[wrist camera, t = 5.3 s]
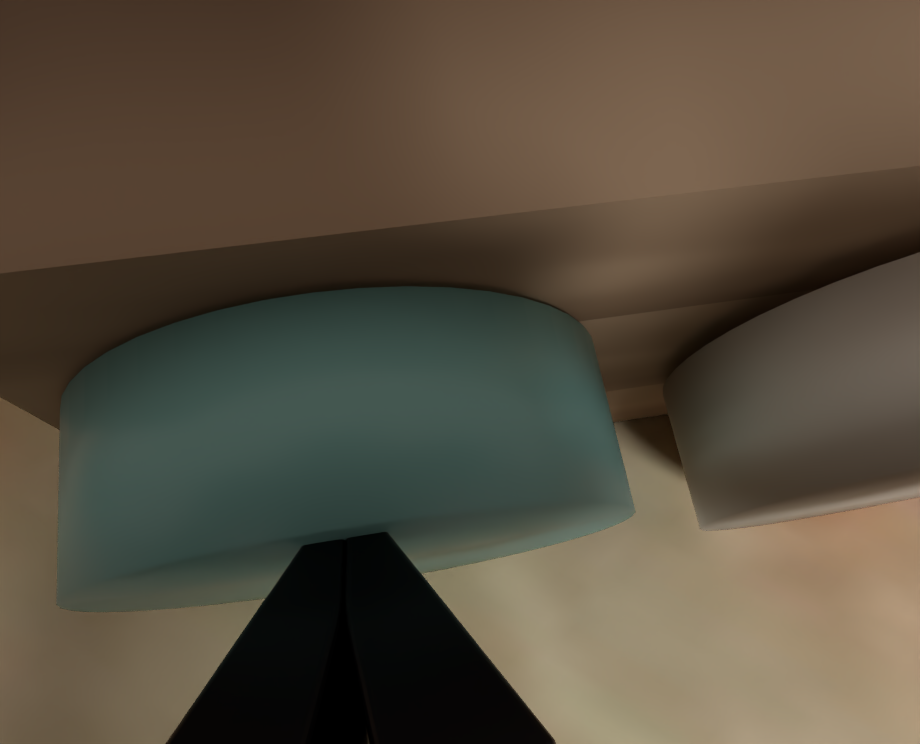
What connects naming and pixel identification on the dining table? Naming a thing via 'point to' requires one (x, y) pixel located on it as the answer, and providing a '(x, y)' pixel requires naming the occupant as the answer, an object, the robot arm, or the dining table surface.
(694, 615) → the dining table surface
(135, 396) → the teal knob
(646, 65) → the walnut mount
